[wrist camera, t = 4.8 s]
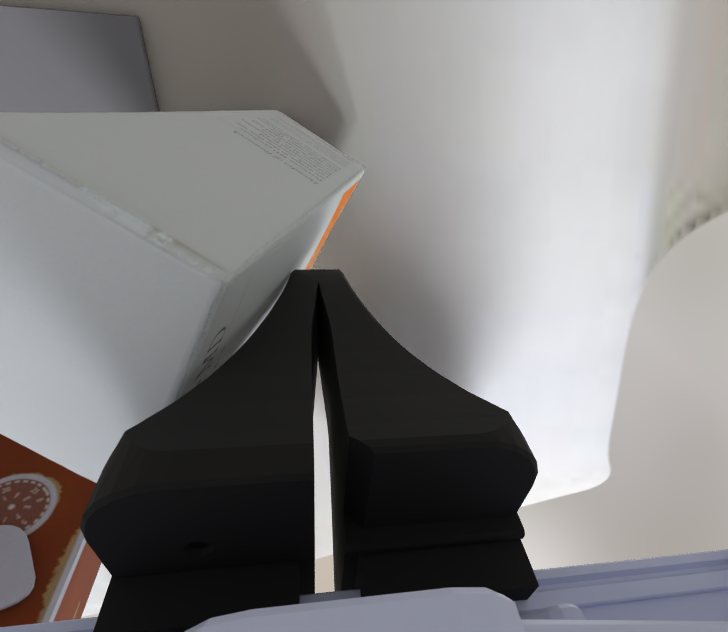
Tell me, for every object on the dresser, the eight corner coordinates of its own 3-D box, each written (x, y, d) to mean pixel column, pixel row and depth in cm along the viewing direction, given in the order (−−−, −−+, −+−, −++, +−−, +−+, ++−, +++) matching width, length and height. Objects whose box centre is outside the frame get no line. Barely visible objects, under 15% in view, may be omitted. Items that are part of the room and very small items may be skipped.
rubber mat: (208, 339, 22) (206, 345, 21) (-42, 344, 20) (-49, 351, 20) (138, 16, 13) (132, 16, 13) (-302, -19, 12) (-324, -20, 11)
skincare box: (307, 282, 19) (132, 511, 8) (225, 234, 18) (-69, 408, 8) (373, 164, 16) (232, 283, 5) (278, 102, 15) (-84, 98, 5)
